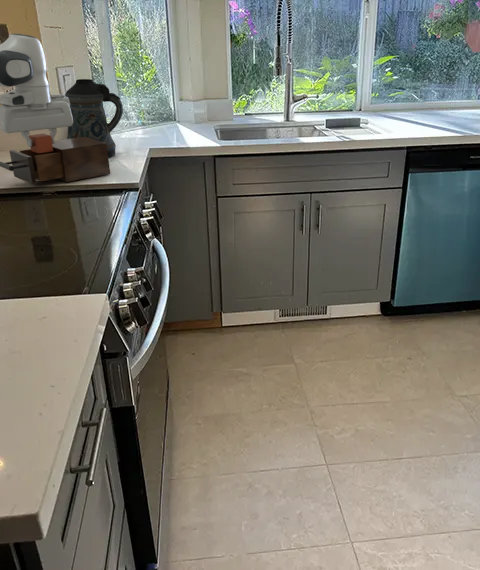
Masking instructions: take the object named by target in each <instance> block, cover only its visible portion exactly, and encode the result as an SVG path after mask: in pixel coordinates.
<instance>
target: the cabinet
mask: <svg viewBox="0 0 480 570" xmlns="http://www.w3.org/2000/svg"><path fill="white" fill-rule="evenodd" d="M54 142H55V143H54V144H52V145H53V149H54V150H57V151H60V152H61V157H62V164H63V171H64V177H61V178H57V180H61V181H64V182H66V183H69V182H73V181H78V180H84V179H88V178H95V177H100V176H104V175H105V176H106V175H110V174H111V167H110V157H109V158H108V149H107V143H105V142H101V141H98V140H95V139H91V138H88V137H79V138H72V139H67V138H66V139H59V140H54Z"/></svg>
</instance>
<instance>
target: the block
mask: <svg viewBox="0 0 480 570" xmlns="http://www.w3.org/2000/svg"><path fill="white" fill-rule="evenodd" d="M28 136H29V138H30V139H31V140H34V142H35V143H34V144H35V146H33V147H30V149H31V151H33V152H36V153H45V152H52V151H53V145H52V139H51V136H50V134H46V133H36V134H30V135H28Z"/></svg>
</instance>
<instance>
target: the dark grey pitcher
mask: <svg viewBox="0 0 480 570" xmlns="http://www.w3.org/2000/svg"><path fill="white" fill-rule="evenodd" d="M110 91H111V90H110V88H109V87H108V86H107V85H106V84H103V83H96V82H94V80H93V79H92V78H90V79H89V78H79V79H76V80H75V83H74V84H73V85H72V86H71V87H70V88H69V89H68V90H66V92H65V94H64V95H65V96H67V97H68V98H69V101H70V110H71V113H72V117H73V124H72V126H69V127H67V135H66V139H72V138H79V137H88V138H91V139H95V140H98V141H101V142H105V143H107V149H108V158H109V159H110V158H112V157H114V156H115V155H116V148H117V147H116V142H115V140H114V139H113V137H112V134H111V133H112V132H113V130H114V129H115V128H116V127H117V125H119V123H120V121H121V119H122V117H123V113H124V106H123V102H122V99H121V98H120V96H118V95H117V94H116V93H114V92H110ZM106 102H107V103H109V102H111V103H112V104H113V105H114V106H115V112H114V115H113V117H112V119H111V120H110V121H109V122H108V119H107V116H106V111H105V108H104V103H106Z"/></svg>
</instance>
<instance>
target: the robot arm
mask: <svg viewBox="0 0 480 570" xmlns="http://www.w3.org/2000/svg"><path fill="white" fill-rule="evenodd" d="M46 63H47V62H46V57H45V53H44V49H43V46H42V43H41V41H40V39H38V38H37V37H36V36H33V35H29V34H22V33H10V34H9V35H8V38H7V39H5V41H3V42H2V43H1V44H0V87H3V88H10V87H11V88H12V87H14V89H12V90H10V91H7V92H4V93H2V94H0V104H1V105H0V130H1V131H2V132H3V133H6V134H14V133H20V135H21V136H22V137H23V138H24V139H25V141H26V146H27V147H28V148H31V147H33V146H35V144H34V143H35V142H34V140H31V139H30V138H29V135H31V134H30V132H33V131H42V130H48V132H49V135H50V136H51V139H52V144H54V143H55V142H54V141H55V138H56V135H57V132H58V130H57V129H59V128H60V129H61V128H68V127H69V126H72V124H73V117H72V113H71V110H70V101H69V98H68V97H67V96H65V94H63V93H59V94H51V91H50V90H51V89H50V84H49V81H48V78H47V64H46Z"/></svg>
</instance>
